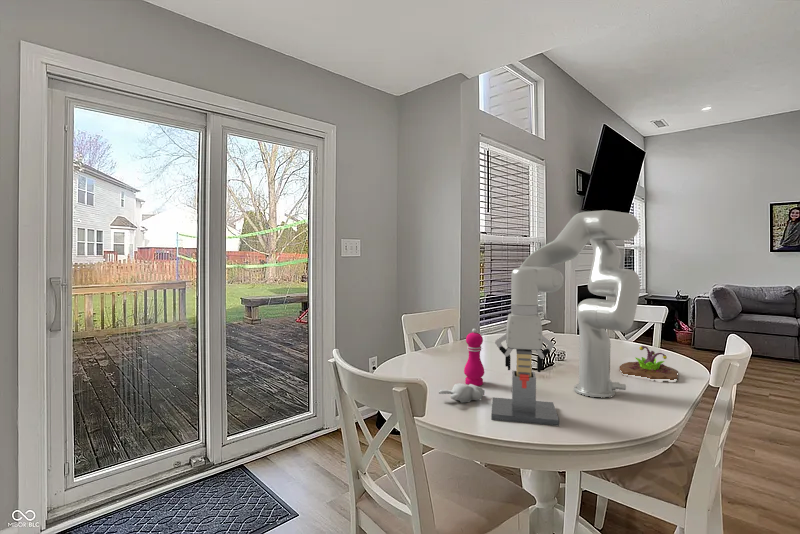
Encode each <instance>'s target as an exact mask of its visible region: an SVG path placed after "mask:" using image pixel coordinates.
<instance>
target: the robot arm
mask: <svg viewBox="0 0 800 534" xmlns="http://www.w3.org/2000/svg"><path fill="white" fill-rule="evenodd" d="M639 229H640V223H639V220H638V219H637V217H636V216H635V215H634V214H632V213H629V212H621V211H616V210H608V209H605V210H604V209H602V210H592V211H591V210H590V211H582V212H579V213H577V214H574V215H573V216H572V218H570V219H569V221H568V222H567V224H566V225H565V226H564V228H563V229H562V230H561V231H560V233H558V235H557V237H555V239H554V240H553V241H550V242H548V243H547V244H545V245H543V246H541V247H540V248H538V249H536V250H535V251H533V252H532V253H531V254H530V255H529V256H527V257H526V258H525V260H524V261H523V262H522V263H521V265H520V266H519V267H517V268H514V269H513V270H512V271H511V278H510V279H511V287H510V288H511V290H510V291H511V292H510V293H511V295H510V297H511V298H510V299H511V300H510V301H511V303H510V313H508V315H507V320H506V330H505V331H506V332H505V334H504V335H502V336H500V337H499V338H497V339H496V340H495V341H494V344H495V345H496V347H498V350H499V351H500V352H501V353H502V355H504V357H505V362H504V363H505V367H507V371H511V353H512V352H513V350H516V349H520V350H532V351H535V352H536V354H537V355H538V356H537V358H536V361H537V362H536V365H537V366H536V369H537V373H541V370H543V369H544V359H545V357H546V356H547V355H549V353H550V352H551V351H552V349H554V347H555V344H554V342H553V341H551V340H549V339H548V338H547V337H545V336H544V335H543V325H542V317H541V315H540V313H541V312H544V307H543V306H540V305H539V292H540V293H555V292H557V291H559V290H560V289H561V288H562V287H563V285H564V275H563V273H562V272H561V271H560V270H559V269H557V268H555V267H552V266H555V265H559V264H563V263H566V262H568V261H571V260H574V259H575V258H577V257H579V255H580V254H581V252H582V251H583V249H584V248H585V246H586V245H587V244H588V243H589V244H591V248H592V254H593V255H592V262H591V267H590V271H589V275H588V276H589V277H588V280H587V281H588V282H587V289H588V291H589V293H591V294H593V295H596V296H600V297H608V298H615V300H609V299H602V298H601V299H600V298H586V299H583V300H582V301H580V302H579V303H578V304H577V307H576V318H577V323H578V330H579V331H578V333H579V334H578V335H579V344H578V345H579V347H578V350H579V351H578V352H579V354H578V355H579V356H578V383H575V384H574V386H573V391H574V392H575V393H577V394H579V395H581V394H582V395H581V396H584V395H585V396H584V397H588V396H590V397H589V398H594V397H601V398H600V399H603V398H602V397H609V398H612V397H611V396H613V395H614V394H615V393H616V392H615V390H619V391H621V390H622V391H626V390H627V386H626V384H625V383H620V382H619V381H617V382H616V381H612V380H611V347H612V346H611V344H612V343H611V339H610V335H609V333H608V330H609V331H614V332H615V331H616V332H626V331H628V330H630V329H631V328H632V326H633V325H634V321H635V316H636V312H637V306H638V302H639V297H640V292H641V279H640V277H639V274H638V273H637V272H636V271H635V270H633V269H629V268H620V265H621V261H622V260H621V259H622V254H621V252H620V250H619V248H618V246H617V245H616V244H615V243H614V241H627V240H628V241H629V240H631V239H634V238H635V237H636V236H637V234H638V233H639ZM503 342H506V347H507V348H505V347H504V346H503V345H502V343H503ZM543 343H545V344H546V345H547V346H546V348H544V349H543ZM542 349H543V350H542ZM615 395H616V394H615ZM615 395H614V396H615ZM614 396H613V397H614Z"/></svg>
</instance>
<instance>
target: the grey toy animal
mask: <svg viewBox="0 0 800 534" xmlns="http://www.w3.org/2000/svg"><path fill="white" fill-rule="evenodd" d="M485 391H486V390H485V389H483V388H482V387H481V386H475V385H472V384H469V385H467V384H464V383H462V382H461V383H454V385H453V386H452V389H439V391H438V394H440V395H444V394H445V395H448V394H449V397H450V399H451V400H453V401H460V403H462V404H464V403H470V402H471V401H474V400H476V401H479V400H482V398H483V396H485Z"/></svg>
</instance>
